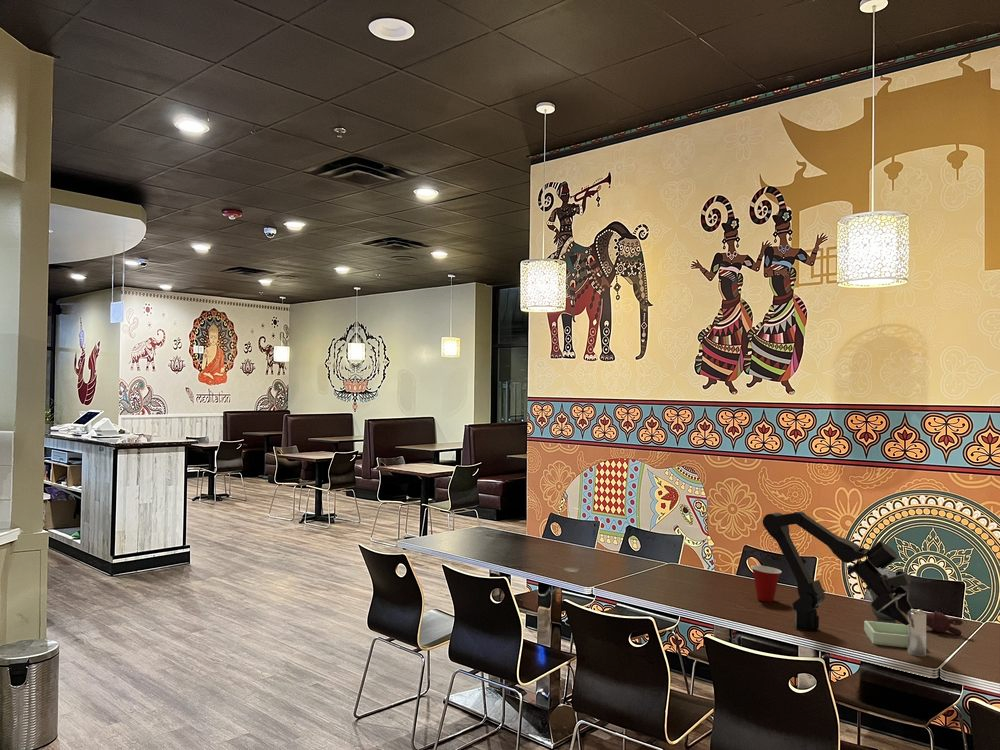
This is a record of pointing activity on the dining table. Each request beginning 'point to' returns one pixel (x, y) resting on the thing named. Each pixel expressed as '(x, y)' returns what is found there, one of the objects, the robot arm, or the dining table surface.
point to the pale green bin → (887, 633)
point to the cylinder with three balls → (917, 633)
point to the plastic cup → (765, 582)
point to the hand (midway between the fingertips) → (912, 621)
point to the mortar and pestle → (880, 616)
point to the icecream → (942, 623)
